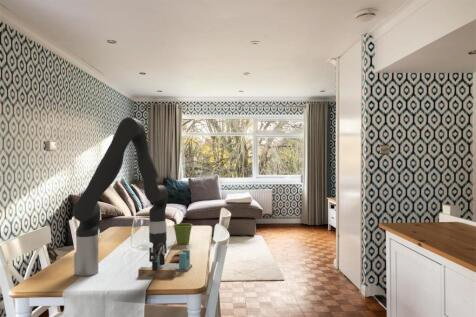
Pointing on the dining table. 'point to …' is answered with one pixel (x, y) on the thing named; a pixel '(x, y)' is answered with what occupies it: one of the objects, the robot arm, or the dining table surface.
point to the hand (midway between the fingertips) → (158, 267)
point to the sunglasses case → (176, 257)
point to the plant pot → (182, 232)
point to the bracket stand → (183, 262)
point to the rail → (157, 272)
